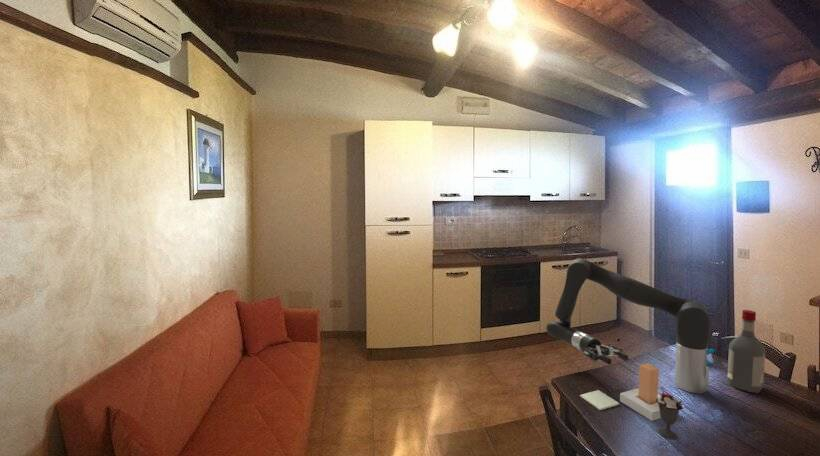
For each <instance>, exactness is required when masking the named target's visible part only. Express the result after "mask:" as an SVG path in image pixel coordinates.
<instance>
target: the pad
mask: <svg viewBox="0 0 820 456" xmlns="http://www.w3.org/2000/svg"><path fill="white" fill-rule="evenodd" d="M579 397H580V398H582V399H583V400H585V401H586V402H587V403H589V404H590V405H591V406H593V407H594V408H596V409H597V410H599V411H602V410H606V409H610V408H612V407H616V406H619V405H620V403H619V401H616V400H615V399H613V398H612V397H610V396H608V395H607V394H606V393H604V392H602V390H601V391H600V390H599V389H597V390H594V391H589V392H586V393H583V394H580V395H579Z"/></svg>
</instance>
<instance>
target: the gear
mask: <svg viewBox="0 0 820 456" xmlns="http://www.w3.org/2000/svg"><path fill="white" fill-rule="evenodd" d="M714 352H715V349H714V348H712V347H711V348H707V356H708V355H710V354H713V353H714ZM710 365H711V363H710V361H709V360H708V359H707V363H706V366H710Z"/></svg>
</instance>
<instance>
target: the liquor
mask: <svg viewBox="0 0 820 456" xmlns="http://www.w3.org/2000/svg"><path fill="white" fill-rule="evenodd" d="M756 314H757V312H756V311H754V310H751V309H750V310H749V309H742V312H741V315H742V316H741V318H742V325H741V326H742V327H741V332H740V335H739V334H738V336H736V337H735V338H733V339H732V340H731V341H730V342H729V344H728V359H727V360H728V361H727V362H728V363H727V376H726V377H727V378H726V382H727V383H728V385H730V386H731V387H732V386H733V387H732V388H734V387H735V389H737V388H738V390H740V389H742V390H741V391H743V390H745V391H744V392H746V391H748V392H747V393H749V392H756V393H755V394H759V393H760V392H761V391H762V389H763V387H764V378H765V377H764V376H765V364H766V363H765V362H766V347H765V345H764V344H763V343H762V342H761V341H760V340H759V339H758V338H757V337H756V335H755V321H756V320H757V319H756V316H757V315H756Z"/></svg>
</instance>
